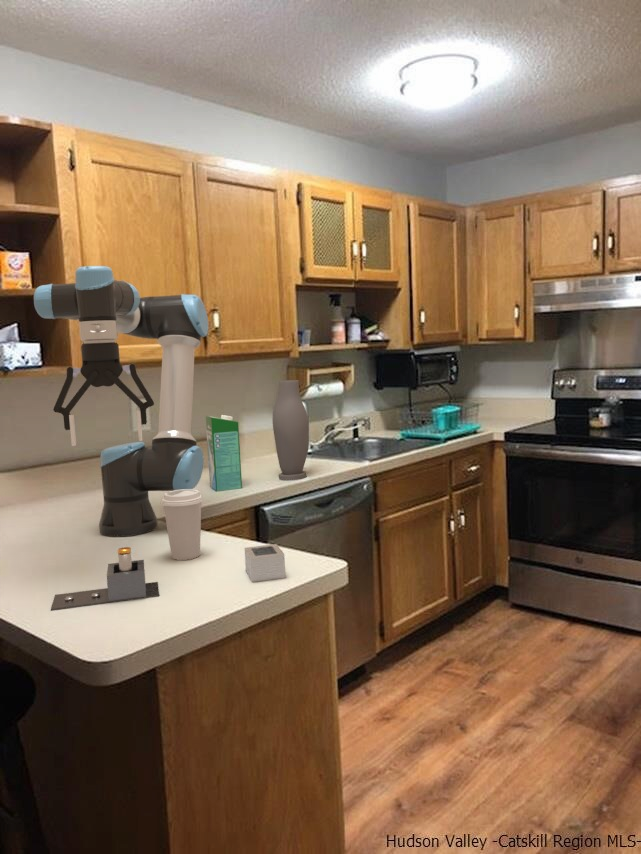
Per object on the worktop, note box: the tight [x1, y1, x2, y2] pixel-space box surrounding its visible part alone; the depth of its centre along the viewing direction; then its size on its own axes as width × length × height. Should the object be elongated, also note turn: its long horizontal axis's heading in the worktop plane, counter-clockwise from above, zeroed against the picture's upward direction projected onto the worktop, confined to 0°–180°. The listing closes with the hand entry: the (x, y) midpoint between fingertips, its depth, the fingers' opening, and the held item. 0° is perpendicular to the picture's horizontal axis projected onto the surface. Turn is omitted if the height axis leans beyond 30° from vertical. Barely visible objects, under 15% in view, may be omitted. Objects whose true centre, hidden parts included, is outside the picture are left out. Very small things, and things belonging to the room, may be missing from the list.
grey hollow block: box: [106, 559, 147, 601], centre depth 139 cm, size 8×7×5 cm
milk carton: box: [205, 414, 243, 492], centre depth 238 cm, size 9×9×25 cm
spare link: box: [244, 543, 286, 583], centre depth 147 cm, size 8×7×5 cm
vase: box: [272, 379, 310, 481], centre depth 250 cm, size 13×13×35 cm
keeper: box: [50, 546, 160, 611], centre depth 138 cm, size 8×20×9 cm, turn 105°
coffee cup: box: [160, 488, 204, 561], centre depth 162 cm, size 10×10×15 cm
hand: (107, 442), depth 149 cm, fingers open, 13 cm apart
